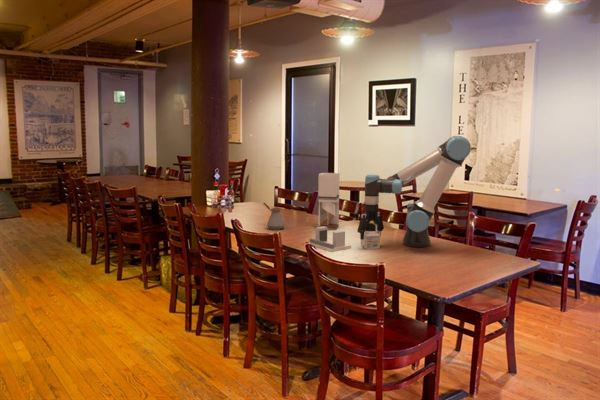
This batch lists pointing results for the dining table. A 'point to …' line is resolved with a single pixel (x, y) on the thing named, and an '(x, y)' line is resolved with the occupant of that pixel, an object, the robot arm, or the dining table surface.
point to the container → (372, 237)
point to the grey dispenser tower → (328, 200)
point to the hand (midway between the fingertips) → (370, 243)
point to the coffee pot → (275, 219)
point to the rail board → (328, 244)
